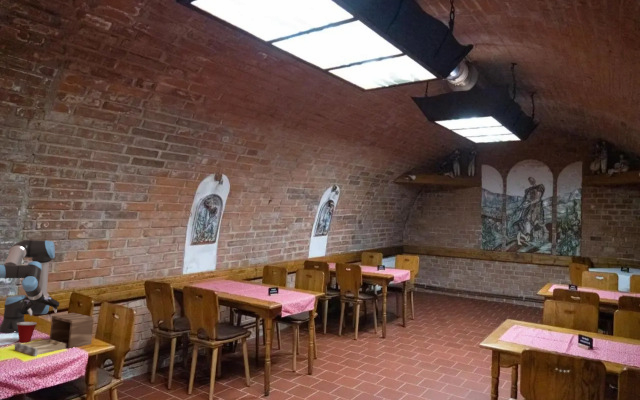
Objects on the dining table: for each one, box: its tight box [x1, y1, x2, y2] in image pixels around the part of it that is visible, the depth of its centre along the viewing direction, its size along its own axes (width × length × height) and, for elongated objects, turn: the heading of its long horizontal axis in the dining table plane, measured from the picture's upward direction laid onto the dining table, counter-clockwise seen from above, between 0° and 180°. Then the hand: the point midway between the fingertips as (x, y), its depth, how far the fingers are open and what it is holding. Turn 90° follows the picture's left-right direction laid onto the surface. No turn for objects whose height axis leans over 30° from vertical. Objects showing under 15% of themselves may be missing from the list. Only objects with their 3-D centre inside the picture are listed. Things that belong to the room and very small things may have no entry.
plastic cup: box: [17, 321, 38, 344], centre depth 283 cm, size 11×11×12 cm
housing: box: [49, 312, 94, 349], centre depth 285 cm, size 20×14×17 cm
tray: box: [14, 338, 67, 357], centre depth 269 cm, size 20×20×4 cm
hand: (43, 312), depth 285 cm, fingers open, 13 cm apart
